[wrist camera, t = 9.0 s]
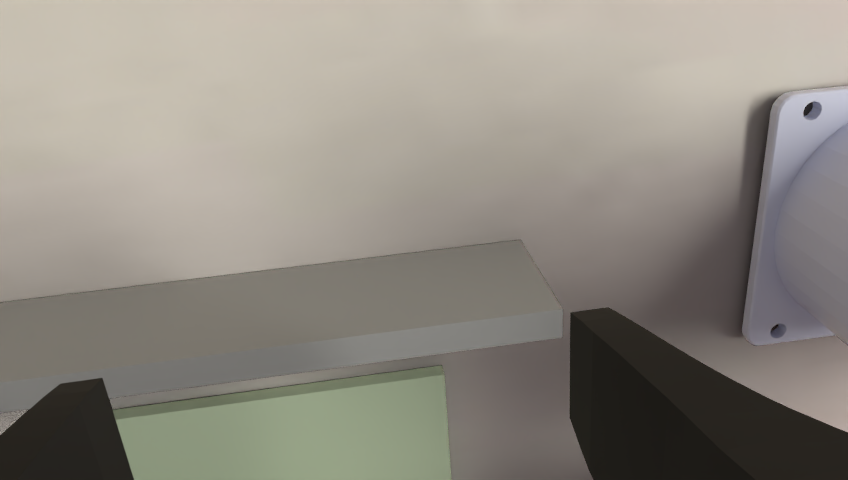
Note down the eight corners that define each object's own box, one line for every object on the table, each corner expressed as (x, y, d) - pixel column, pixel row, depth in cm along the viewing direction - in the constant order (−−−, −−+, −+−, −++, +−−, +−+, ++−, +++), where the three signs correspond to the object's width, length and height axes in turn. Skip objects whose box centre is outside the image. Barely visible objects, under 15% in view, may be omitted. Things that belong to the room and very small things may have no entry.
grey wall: (520, 239, 22) (562, 308, 18) (520, 264, 22) (562, 337, 18) (-70, 310, 20) (-151, 402, 17) (-60, 336, 20) (-137, 431, 17)
